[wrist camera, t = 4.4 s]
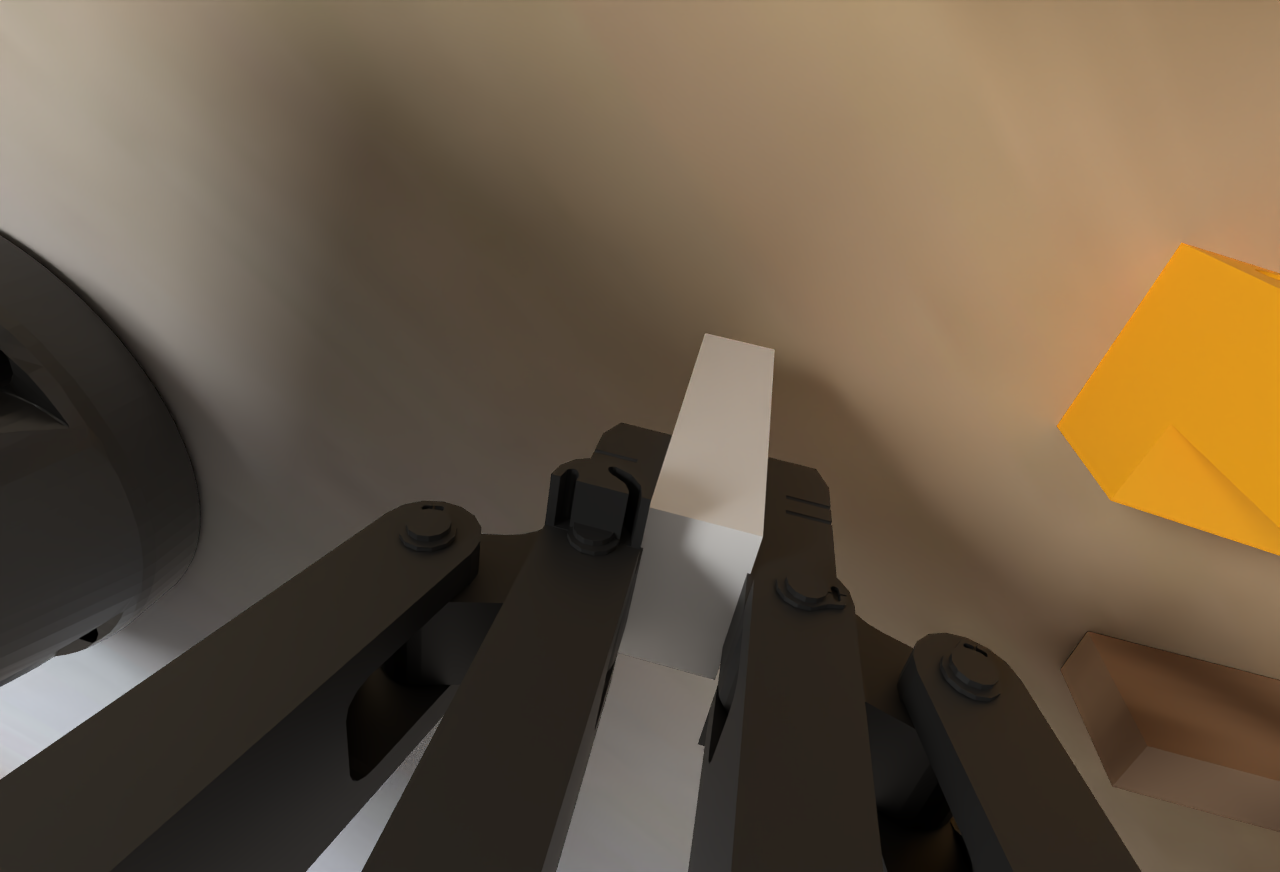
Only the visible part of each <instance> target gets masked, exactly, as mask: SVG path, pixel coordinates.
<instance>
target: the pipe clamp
mask: <svg viewBox="0 0 1280 872" xmlns="http://www.w3.org/2000/svg"><path fill="white" fill-rule="evenodd" d="M1057 427H1058V429H1059V430H1060V431H1061V433H1062V434H1063V436H1064V437H1065V438H1066V440H1067V441H1068V442H1069V444H1070V445H1071V447H1072V448H1073V449H1074V451H1075V452H1076V453H1077V455H1078V456H1079V458H1080V459H1081V460H1082V462H1083V463H1084V464H1085V466H1086V467H1087V469H1088V470H1089V471H1090V473H1091V474H1092V475H1093V477H1094V478H1095V480H1096V481H1097V482H1098V484H1099V485H1100V486H1101V488H1102V489H1103V491H1104V492H1105V493H1106V495H1107V496H1108V498H1109V499H1110V500H1111V501H1114V502H1117V503H1120V504H1123V505H1126V506H1129V507H1132V508H1135V509H1138V510H1142V511H1145V512H1148V513H1151V514H1154V515H1157V516H1160V517H1163V518H1166V519H1169V520H1172V521H1175V522H1178V523H1181V524H1184V525H1187V526H1190V527H1194V528H1197V529H1200V530H1203V531H1206V532H1209V533H1212V534H1215V535H1218V536H1221V537H1224V538H1227V539H1230V540H1233V541H1236V542H1239V543H1242V544H1245V545H1249V546H1252V547H1255V548H1258V549H1261V550H1264V551H1267V552H1270V553H1273V554H1276V555H1279V556H1280V273H1277V272H1273V271H1270V270H1267V269H1264V268H1261V267H1258V266H1254V265H1251V264H1248V263H1245V262H1242V261H1238V260H1235V259H1232V258H1229V257H1226V256H1222V255H1219V254H1216V253H1213V252H1210V251H1207V250H1203V249H1200V248H1197V247H1194V246H1191V245H1187V244H1184V243H1181V244H1180V246H1179V247H1178V249H1177V250H1176V252H1175V253H1174V255H1173V256H1172V258H1171V259H1170V260H1169V262H1168V263H1167V265H1166V266H1165V268H1164V269H1163V271H1162V272H1161V274H1160V275H1159V277H1158V278H1157V280H1156V281H1155V282H1154V284H1153V285H1152V287H1151V288H1150V290H1149V291H1148V293H1147V294H1146V296H1145V297H1144V299H1143V300H1142V302H1141V303H1140V305H1139V306H1138V307H1137V309H1136V310H1135V312H1134V313H1133V315H1132V316H1131V318H1130V319H1129V321H1128V322H1127V324H1126V325H1125V327H1124V328H1123V329H1122V331H1121V332H1120V334H1119V335H1118V337H1117V338H1116V340H1115V341H1114V343H1113V344H1112V346H1111V347H1110V349H1109V350H1108V352H1107V353H1106V354H1105V356H1104V357H1103V359H1102V360H1101V362H1100V363H1099V365H1098V366H1097V368H1096V369H1095V371H1094V372H1093V374H1092V375H1091V377H1090V378H1089V379H1088V381H1087V382H1086V384H1085V385H1084V387H1083V388H1082V390H1081V391H1080V393H1079V394H1078V396H1077V397H1076V399H1075V400H1074V401H1073V403H1072V404H1071V406H1070V407H1069V409H1068V410H1067V412H1066V413H1065V415H1064V416H1063V418H1062V419H1061V421H1060V422H1059V424H1058V425H1057Z"/></svg>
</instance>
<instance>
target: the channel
mask: <svg viewBox="0 0 1280 872" xmlns="http://www.w3.org/2000/svg"><path fill="white" fill-rule="evenodd" d="M1061 672H1062V674H1063V676H1064V679H1065V681H1066V683H1067V685H1068V688H1069V690H1070V692H1071V694H1072V697H1073V699H1074V701H1075V703H1076V706H1077V708H1078V710H1079V712H1080V715H1081V717H1082V719H1083V721H1084V724H1085V726H1086V728H1087V730H1088V733H1089V735H1090V737H1091V739H1092V742H1093V744H1094V746H1095V748H1096V751H1097V753H1098V755H1099V757H1100V760H1101V762H1102V764H1103V767H1104V769H1105V771H1106V773H1107V776H1108V778H1109V780H1110V782H1111V785H1112V786H1113V787H1117V788H1120V789H1124V790H1128V791H1131V792H1135V793H1139V794H1142V795H1146V796H1150V797H1153V798H1157V799H1161V800H1164V801H1168V802H1172V803H1175V804H1179V805H1183V806H1186V807H1190V808H1194V809H1197V810H1201V811H1205V812H1208V813H1212V814H1216V815H1219V816H1223V817H1227V818H1230V819H1234V820H1238V821H1241V822H1245V823H1249V824H1252V825H1256V826H1260V827H1263V828H1267V829H1271V830H1274V831H1278V832H1280V680H1276V679H1272V678H1268V677H1264V676H1260V675H1256V674H1253V673H1249V672H1245V671H1241V670H1237V669H1233V668H1229V667H1225V666H1221V665H1217V664H1213V663H1210V662H1206V661H1202V660H1198V659H1194V658H1190V657H1186V656H1182V655H1178V654H1174V653H1171V652H1167V651H1163V650H1159V649H1155V648H1151V647H1147V646H1143V645H1139V644H1135V643H1131V642H1128V641H1124V640H1120V639H1116V638H1112V637H1108V636H1104V635H1100V634H1096V633H1092V632H1089V631H1088V632H1087V633H1086V634H1085V636H1084V637H1083V639H1082V640H1081V641H1080V643H1079V644H1078V646H1077V647H1076V649H1075V650H1074V651H1073V653H1072V654H1071V656H1070V657H1069V658H1068V660H1067V661H1066V663H1065V664H1064V666H1063V667H1062V668H1061Z"/></svg>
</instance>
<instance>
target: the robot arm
mask: <svg viewBox="0 0 1280 872" xmlns="http://www.w3.org/2000/svg"><path fill="white" fill-rule="evenodd" d="M774 352H775V349H771V348H767V347H762V346H758V345H754V344H750V343H745V342H741V341H737V340H733V339H728V338H724V337H720V336H716V335H711V334H707V333H705V335H704V338H703V341H702V344H701V347H700V350H699V354H698V357H697V360H696V363H695V366H694V369H693V372H692V375H691V378H690V382H689V385H688V388H687V391H686V394H685V397H684V400H683V403H682V406H681V410H680V413H679V416H678V419H677V422H676V425H675V428H674V431H673V434H672V435H669V434H665V433H660V432H656V431H652V430H648V429H644V428H640V427H636V426H632V425H628V424H624V423H620V424H618V425H617V426H615V427H613V428H612V429H610V430H608V431H607V432H605V433H603V435H602V437H601V439H600V441H599V443H598V445H597V447H596V449H595V452H594V453H593V455H592V457H591V458H588V459H576V460H573V461H570V462H568V463H565V464H562V465H560V466H559V467H558V468H557V469H556V470H555V471H554V472H553V473H552V474H551V481H550V489H549V497H548V505H547V513H546V520H545V525H544V527H543V529H541V530H539V531H536V532H532V533H527V534H520V535H492V534H481V526H480V524H479V523H478V521H477V519H476V518H475V516H474V515H472V514H471V513H469V512H468V511H466V510H465V509H464V508H462V507H460V506H456V505H453V504H449V503H446V502H437V501H421V502H415V503H410V504H405V505H402V506H400V507H398V508H396V509H394V510H392V511H390V512H388V513H386V514H385V515H383V516H382V517H380V518H379V519H378V520H376V521H375V522H373V523H372V524H370V525H369V526H367V527H366V528H364V529H363V530H362V531H360V532H359V533H357V534H356V535H354V536H353V537H351V538H350V539H349V540H347V541H346V542H344V543H343V544H341V545H340V546H338V547H337V548H335V549H334V550H333V551H331V552H330V553H328V554H327V555H325V556H324V557H322V558H321V559H320V560H318V561H317V562H315V563H314V564H312V565H311V566H309V567H308V568H306V569H305V570H304V571H302V572H301V573H299V574H298V575H296V576H295V577H293V578H292V579H291V580H289V581H288V582H286V583H285V584H283V585H282V586H280V587H279V588H277V589H276V590H275V591H273V592H272V593H270V594H269V595H267V596H266V597H264V598H263V599H262V600H260V601H259V602H257V603H256V604H254V605H253V606H251V607H250V608H248V609H247V610H246V611H244V612H243V613H241V614H240V615H238V616H237V617H235V618H234V619H233V620H231V621H230V622H228V623H227V624H225V625H224V626H222V627H221V628H219V629H218V630H217V631H215V632H214V633H212V634H211V635H209V636H208V637H206V638H205V639H204V640H202V641H201V642H199V643H198V644H196V645H195V646H193V647H192V648H190V649H189V650H188V651H186V652H185V653H183V654H182V655H180V656H179V657H177V658H176V659H175V660H173V661H172V662H170V663H169V664H167V665H166V666H164V667H163V668H161V669H160V670H159V671H157V672H156V673H154V674H153V675H151V676H150V677H148V678H147V679H146V680H144V681H143V682H141V683H140V684H138V685H137V686H135V687H134V688H132V689H131V690H130V691H128V692H127V693H125V694H124V695H122V696H121V697H119V698H118V699H117V700H115V701H114V702H112V703H111V704H109V705H108V706H106V707H105V708H103V709H102V710H101V711H99V712H98V713H96V714H95V715H93V716H92V717H90V718H89V719H88V720H86V721H85V722H83V723H82V724H80V725H79V726H77V727H76V728H74V729H73V730H72V731H70V732H69V733H67V734H66V735H64V736H63V737H61V738H60V739H59V740H57V741H56V742H54V743H53V744H51V745H50V746H48V747H47V748H45V749H44V750H43V751H41V752H40V753H38V754H37V755H35V756H34V757H32V758H31V759H30V760H28V761H27V762H25V763H24V764H22V765H21V766H19V767H18V768H16V769H15V770H14V771H12V772H11V773H9V774H8V775H6V776H5V777H3V778H2V779H1V780H0V872H306V871H307V870H308V868H309V867H310V866H311V865H312V864H313V863H314V862H315V861H316V859H317V858H318V857H319V856H320V855H321V854H322V853H323V851H324V850H325V849H326V848H327V847H328V846H329V845H330V844H331V842H332V841H333V840H334V839H335V838H336V837H337V836H338V834H339V833H340V832H341V831H342V830H343V829H344V828H345V827H346V825H347V824H348V823H349V822H350V821H351V820H352V819H353V817H354V816H355V815H356V814H357V813H358V812H359V811H360V810H361V808H362V807H363V806H364V805H365V804H366V803H367V802H368V800H369V799H370V798H371V797H372V796H373V795H374V794H375V793H376V791H377V790H378V789H379V788H380V787H381V786H382V785H383V783H384V782H385V781H386V780H387V779H388V778H389V777H390V776H391V774H392V773H393V772H394V771H395V770H396V769H397V768H398V766H399V765H400V764H401V763H402V762H403V761H404V760H405V758H406V757H407V756H408V755H409V754H410V753H411V752H412V751H413V749H414V748H415V747H416V746H417V745H418V744H419V743H420V741H421V740H422V739H423V738H424V737H425V736H426V735H427V734H428V732H429V731H430V730H431V729H432V728H433V727H434V726H435V724H436V723H437V722H438V721H439V720H440V719H441V718H442V717H443V718H442V720H441V722H440V724H439V726H438V728H437V730H436V732H435V733H434V735H433V737H432V739H431V741H430V743H429V745H428V747H427V749H426V751H425V752H424V754H423V756H422V758H421V760H420V762H419V764H418V766H417V768H416V769H415V771H414V773H413V775H412V777H411V779H410V781H409V783H408V785H407V786H406V788H405V790H404V792H403V794H402V796H401V798H400V800H399V802H398V803H397V805H396V807H395V809H394V811H393V813H392V815H391V817H390V819H389V820H388V822H387V824H386V826H385V828H384V830H383V832H382V834H381V836H380V838H379V839H378V841H377V843H376V845H375V847H374V849H373V851H372V853H371V855H370V856H369V858H368V860H367V862H366V864H365V866H364V868H363V870H362V872H556V870H557V867H558V863H559V860H560V856H561V853H562V849H563V846H564V842H565V839H566V836H567V832H568V829H569V825H570V822H571V818H572V815H573V811H574V808H575V804H576V801H577V797H578V794H579V791H580V787H581V784H582V780H583V777H584V773H585V770H586V766H587V763H588V759H589V756H590V752H591V749H592V746H593V742H594V739H595V735H596V732H597V728H598V725H599V721H600V718H601V714H602V711H603V707H604V704H605V701H606V697H607V694H608V690H609V687H610V683H611V679H612V674H613V670H614V665H615V661H616V657H617V654H618V653H620V654H624V655H627V656H631V657H634V658H638V659H641V660H645V661H649V662H652V663H656V664H659V665H663V666H667V667H670V668H674V669H677V670H681V671H685V672H688V673H692V674H695V675H699V676H703V677H706V678H710V679H713V680H715V678H716V675H717V672H718V669H719V666H720V673H719V681H718V686H717V689H716V692H715V695H714V698H713V701H712V704H711V707H710V710H709V713H708V716H707V719H706V722H705V725H704V727H703V730H702V733H701V736H700V739H699V742H698V744H699V745H703V746H705V748H704V755H703V763H702V771H701V778H700V786H699V793H698V801H697V809H696V816H695V824H694V831H693V839H692V847H691V854H690V862H689V869H688V872H1141V870H1140V869H1139V867H1138V865H1137V864H1136V862H1135V861H1134V859H1133V858H1132V856H1131V854H1130V853H1129V851H1128V850H1127V848H1126V846H1125V845H1124V843H1123V842H1122V840H1121V838H1120V837H1119V835H1118V834H1117V832H1116V831H1115V829H1114V827H1113V826H1112V824H1111V823H1110V821H1109V819H1108V818H1107V816H1106V815H1105V813H1104V811H1103V810H1102V808H1101V807H1100V805H1099V804H1098V802H1097V800H1096V799H1095V797H1094V796H1093V794H1092V792H1091V791H1090V789H1089V788H1088V786H1087V784H1086V783H1085V781H1084V780H1083V778H1082V776H1081V775H1080V773H1079V772H1078V770H1077V769H1076V767H1075V765H1074V764H1073V762H1072V761H1071V759H1070V757H1069V756H1068V754H1067V753H1066V751H1065V749H1064V748H1063V746H1062V745H1061V743H1060V742H1059V740H1058V738H1057V737H1056V735H1055V734H1054V732H1053V730H1052V729H1051V727H1050V726H1049V724H1048V722H1047V721H1046V719H1045V718H1044V716H1043V715H1042V713H1041V711H1040V710H1039V708H1038V707H1037V705H1036V703H1035V702H1034V700H1033V699H1032V697H1031V695H1030V694H1029V692H1028V691H1027V689H1026V688H1025V686H1024V684H1023V683H1022V681H1021V680H1020V678H1019V677H1018V676H1017V675H1016V674H1015V672H1014V671H1013V670H1012V669H1011V668H1010V666H1009V665H1008V664H1007V663H1006V662H1005V661H1003V660H1002V659H1001V658H1000V657H998V656H997V655H996V654H994V653H993V652H992V651H990V650H989V649H988V648H986V647H984V646H982V645H980V644H978V643H976V642H974V641H972V640H970V639H968V638H965V637H961V636H957V635H953V634H949V633H937V634H928V635H927V636H925V637H924V638H922V639H920V640H919V641H917V643H916V645H915V647H914V649H913V648H912V647H910V646H908V645H906V644H904V643H902V642H900V641H898V640H896V639H894V638H892V637H890V636H888V635H886V634H884V633H882V632H880V631H879V630H877V629H875V628H874V627H872V626H870V625H869V624H867V623H866V622H865V621H864V620H862V619H861V618H860V617H859V616H858V615H856V614H855V606H854V603H853V600H852V598H851V595H850V592H849V591H848V590H847V589H846V587H845V586H844V585H843V584H842V583H841V582H840V581H839V579H838V578H836V566H835V554H834V542H833V530H832V525H831V522H832V518H831V510H830V495H829V487H828V486H827V485H826V483H825V482H824V480H823V479H822V477H821V476H820V474H819V473H818V472H817V470H816V469H813V468H809V467H805V466H801V465H797V464H793V463H789V462H785V461H781V460H777V459H773V458H769V457H768V448H769V432H770V416H771V400H772V384H773V368H774ZM199 530H200V506H199V497H198V490H197V485H196V480H195V476H194V472H193V469H192V466H191V462H190V459H189V456H188V453H187V451H186V448H185V446H184V443H183V440H182V438H181V436H180V434H179V432H178V429H177V427H176V425H175V423H174V421H173V419H172V417H171V415H170V413H169V411H168V410H167V408H166V406H165V404H164V402H163V401H162V399H161V397H160V396H159V394H158V392H157V391H156V389H155V387H154V386H153V384H152V383H151V381H150V380H149V379H148V377H147V376H146V374H145V373H144V371H143V370H142V368H141V367H140V366H139V364H138V363H137V362H136V360H135V359H134V358H133V356H132V355H131V354H130V352H129V351H128V350H127V349H126V347H125V346H124V345H123V344H122V342H121V341H120V340H119V339H118V338H117V336H116V335H115V334H114V333H113V332H112V331H111V330H110V329H109V327H108V326H107V325H106V324H105V323H104V322H103V321H102V320H101V319H100V317H99V316H98V315H97V314H96V313H95V312H94V311H93V310H92V309H91V308H90V307H89V306H88V305H87V304H86V303H85V302H84V301H83V300H82V299H81V298H79V297H78V296H77V295H76V294H75V293H74V292H73V291H72V290H71V289H70V288H69V287H68V286H67V285H65V284H64V283H63V282H62V281H61V280H60V279H58V278H57V277H56V276H55V275H54V274H52V273H51V272H50V271H49V270H48V269H46V268H45V267H44V266H43V265H41V264H40V263H39V262H37V261H36V260H35V259H33V258H32V257H31V256H30V255H28V254H27V253H25V252H24V251H22V250H21V249H20V248H18V247H17V246H15V245H14V244H13V243H11V242H10V241H8V240H6V239H5V238H3V237H2V236H0V687H1V686H3V685H5V684H7V683H9V682H11V681H12V680H14V679H16V678H18V677H20V676H22V675H24V674H25V673H27V672H29V671H31V670H33V669H34V668H36V667H38V666H40V665H41V664H43V663H45V662H46V661H48V660H50V659H51V658H53V657H55V656H60V655H66V654H70V653H74V652H78V651H81V650H84V649H86V648H88V647H90V646H92V645H95V644H97V643H99V642H101V641H103V640H105V639H107V638H109V637H110V636H112V635H113V634H115V633H117V632H118V631H120V630H121V629H123V628H124V627H126V626H127V625H128V624H129V623H130V622H132V621H133V620H134V619H135V618H136V617H137V616H139V615H140V614H141V613H142V612H143V611H145V610H146V609H147V608H148V607H149V606H150V605H152V604H153V603H154V602H155V601H156V600H157V599H159V598H160V597H161V596H162V595H163V594H164V593H166V592H167V591H168V590H169V589H170V588H172V587H173V586H174V585H175V584H176V583H177V582H178V581H179V580H180V578H181V577H182V576H183V575H184V573H185V572H186V570H187V569H188V567H189V565H190V563H191V561H192V559H193V556H194V553H195V551H196V547H197V543H198V538H199ZM720 663H721V664H720ZM444 714H445V715H444ZM443 715H444V716H443Z"/></svg>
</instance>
